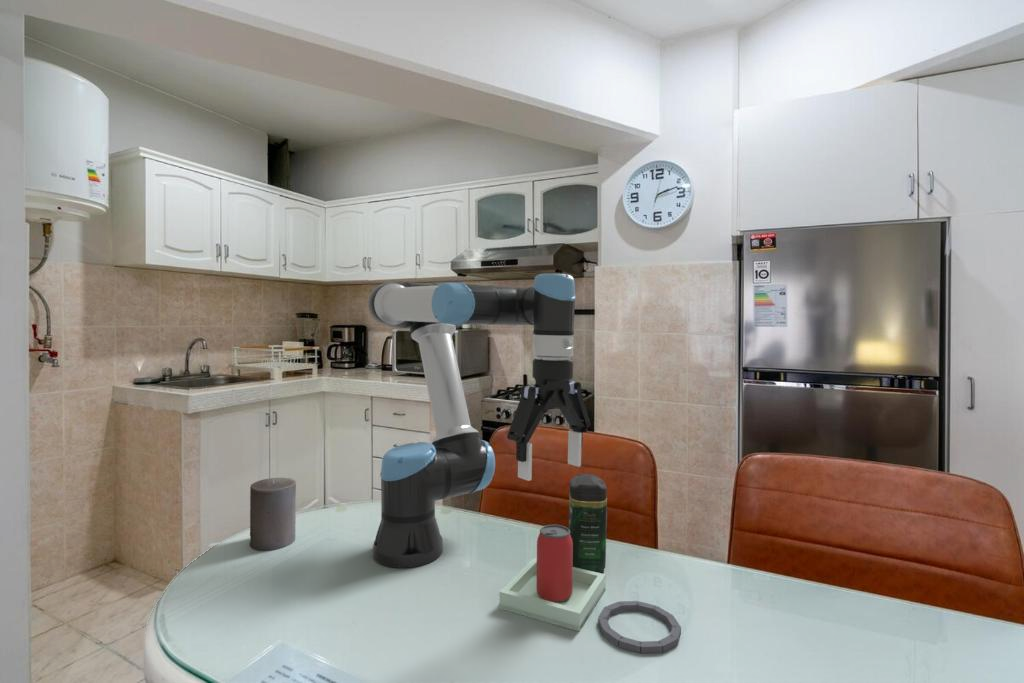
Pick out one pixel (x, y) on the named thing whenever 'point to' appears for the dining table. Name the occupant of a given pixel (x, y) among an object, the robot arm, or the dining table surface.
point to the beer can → (554, 563)
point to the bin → (566, 613)
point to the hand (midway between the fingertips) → (550, 471)
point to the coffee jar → (588, 521)
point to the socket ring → (634, 644)
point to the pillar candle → (272, 513)
